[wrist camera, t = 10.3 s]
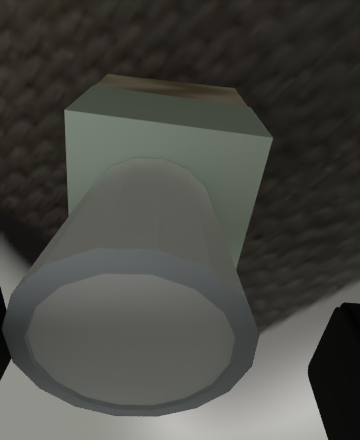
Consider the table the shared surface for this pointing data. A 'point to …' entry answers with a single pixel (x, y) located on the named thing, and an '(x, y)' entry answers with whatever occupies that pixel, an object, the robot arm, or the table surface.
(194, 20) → the table surface
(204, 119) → the tower top
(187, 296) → the shot glass
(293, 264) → the table surface
